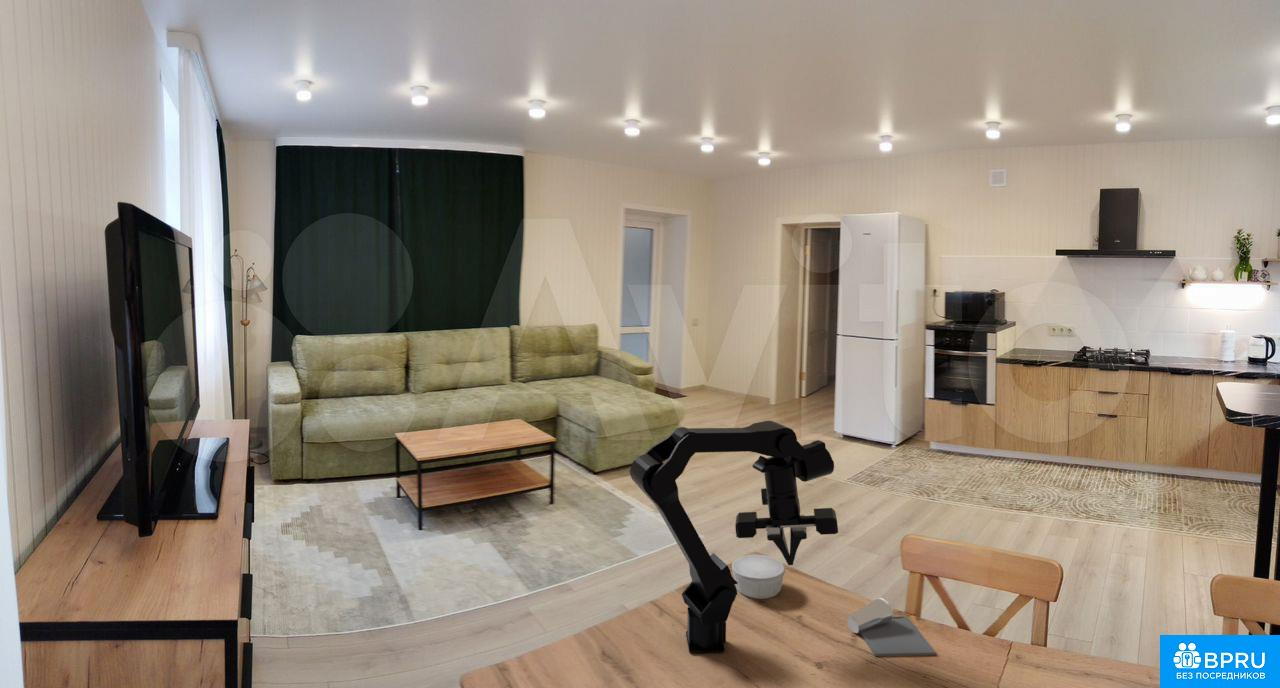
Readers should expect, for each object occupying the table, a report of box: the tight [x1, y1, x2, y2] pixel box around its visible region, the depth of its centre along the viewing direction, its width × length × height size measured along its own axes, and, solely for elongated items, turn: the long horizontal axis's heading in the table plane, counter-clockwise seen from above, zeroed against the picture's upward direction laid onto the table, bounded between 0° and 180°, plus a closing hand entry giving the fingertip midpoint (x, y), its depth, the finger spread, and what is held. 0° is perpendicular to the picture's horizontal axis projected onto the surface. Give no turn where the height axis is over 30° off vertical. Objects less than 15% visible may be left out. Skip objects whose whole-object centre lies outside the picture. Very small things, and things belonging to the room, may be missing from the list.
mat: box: [859, 616, 936, 657], centre depth 124 cm, size 11×12×1 cm
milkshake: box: [846, 597, 904, 634], centre depth 127 cm, size 4×5×10 cm
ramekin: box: [731, 554, 786, 600], centre depth 142 cm, size 11×11×5 cm
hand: (790, 564), depth 126 cm, fingers closed
